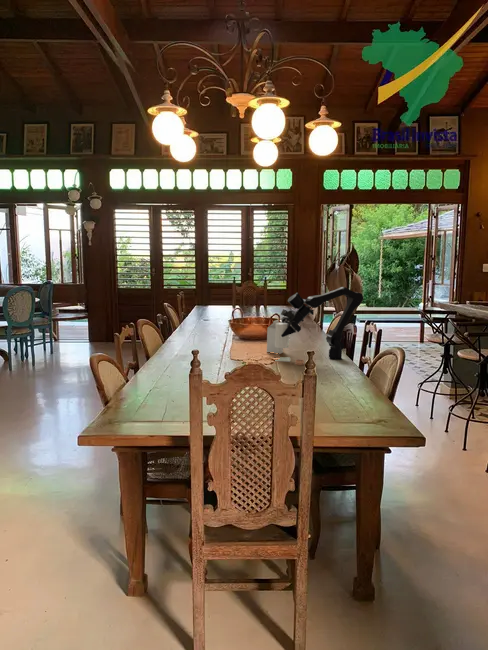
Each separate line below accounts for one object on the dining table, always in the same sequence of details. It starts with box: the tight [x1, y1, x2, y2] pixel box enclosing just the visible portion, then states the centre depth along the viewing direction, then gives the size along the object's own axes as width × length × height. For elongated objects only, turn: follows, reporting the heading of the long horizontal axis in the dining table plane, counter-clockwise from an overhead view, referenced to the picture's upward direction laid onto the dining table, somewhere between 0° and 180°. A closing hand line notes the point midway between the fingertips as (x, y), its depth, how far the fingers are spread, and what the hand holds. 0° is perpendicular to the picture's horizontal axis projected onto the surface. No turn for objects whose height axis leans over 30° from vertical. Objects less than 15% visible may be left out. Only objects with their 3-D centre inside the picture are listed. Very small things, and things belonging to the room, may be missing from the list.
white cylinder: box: [275, 322, 290, 349], centre depth 263 cm, size 7×7×12 cm
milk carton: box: [266, 319, 284, 355], centre depth 280 cm, size 7×7×19 cm
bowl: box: [295, 358, 305, 366], centre depth 256 cm, size 4×4×3 cm
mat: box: [274, 356, 291, 362], centre depth 266 cm, size 10×10×1 cm
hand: (279, 335), depth 263 cm, fingers closed on white cylinder, 7 cm apart
